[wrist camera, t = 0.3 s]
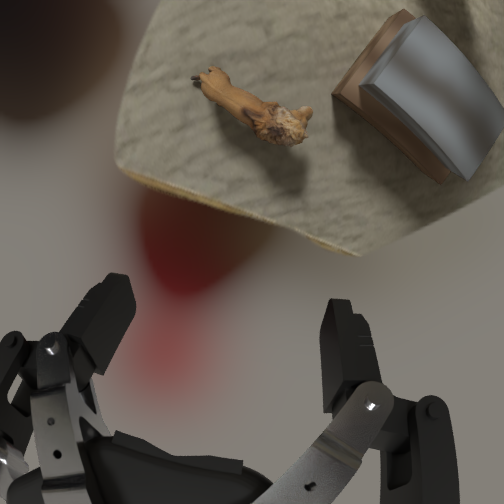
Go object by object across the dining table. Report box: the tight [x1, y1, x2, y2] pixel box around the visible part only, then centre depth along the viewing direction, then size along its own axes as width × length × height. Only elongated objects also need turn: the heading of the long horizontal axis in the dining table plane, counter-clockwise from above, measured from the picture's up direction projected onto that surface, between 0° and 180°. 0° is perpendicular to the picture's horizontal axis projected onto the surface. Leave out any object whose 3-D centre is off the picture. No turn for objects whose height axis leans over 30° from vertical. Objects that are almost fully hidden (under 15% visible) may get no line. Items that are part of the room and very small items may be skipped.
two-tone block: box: [331, 9, 504, 185], centre depth 21 cm, size 14×16×10 cm
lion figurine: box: [190, 66, 313, 147], centre depth 25 cm, size 15×5×9 cm, turn 64°
